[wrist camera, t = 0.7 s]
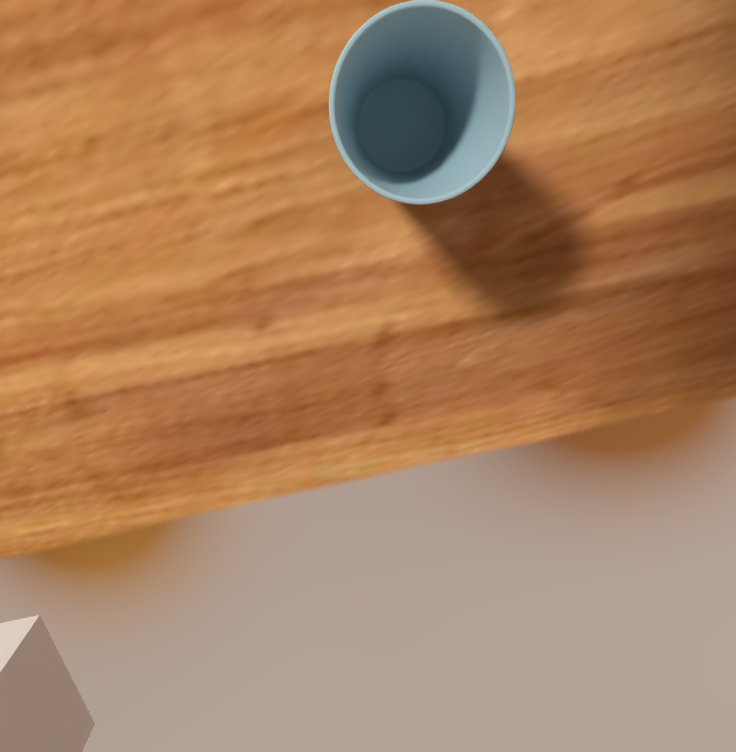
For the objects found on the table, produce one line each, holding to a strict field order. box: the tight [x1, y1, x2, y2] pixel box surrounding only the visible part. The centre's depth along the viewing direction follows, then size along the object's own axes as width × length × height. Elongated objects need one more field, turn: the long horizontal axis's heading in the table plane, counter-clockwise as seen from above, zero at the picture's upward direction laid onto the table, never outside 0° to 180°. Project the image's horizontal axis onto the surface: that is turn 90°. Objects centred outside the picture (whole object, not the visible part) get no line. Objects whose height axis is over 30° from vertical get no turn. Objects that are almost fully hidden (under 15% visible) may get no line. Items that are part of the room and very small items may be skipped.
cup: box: [329, 0, 516, 205], centre depth 29 cm, size 8×8×10 cm
